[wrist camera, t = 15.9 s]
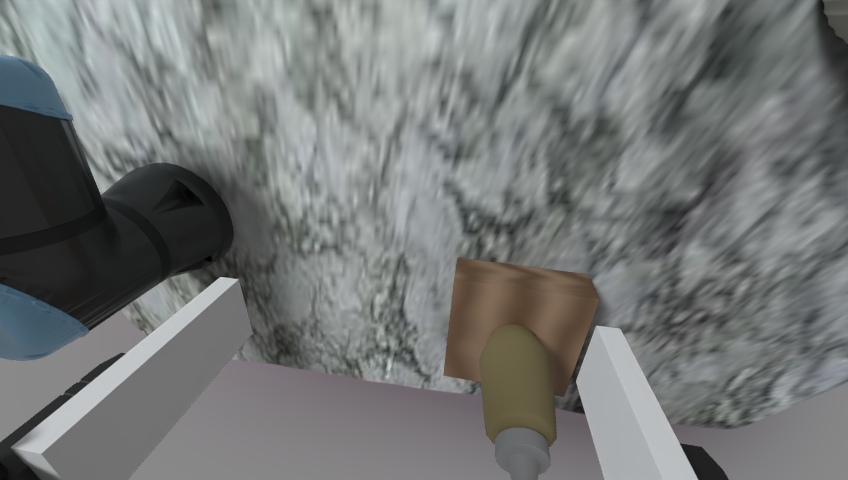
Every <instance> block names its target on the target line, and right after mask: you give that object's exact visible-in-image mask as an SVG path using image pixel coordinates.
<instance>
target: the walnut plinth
mask: <svg viewBox="0 0 848 480" xmlns="http://www.w3.org/2000/svg"><path fill="white" fill-rule="evenodd" d="M599 301H600V299H599V297H598V294H597V292H596V290H595V288H594V286H593V284H592V282H591V279H590V277H589V275H587V274H579V273H572V272H564V271H556V270H549V269H541V268H534V267H526V266H518V265H511V264H503V263H495V262H488V261H480V260H473V259H465V258H458V259H457V265H456V271H455V277H454V285H453V294H452V303H451V312H450V321H449V330H448V339H447V348H446V357H445V366H444V376H450V377H455V378H461V379H467V380H472V381H478V382H481V377H480V366H479V358H480V356H481V353H482V351H483V349H484V347H485V345H486V343H487V341H488V339H489V337H490V335H491V333H492V332H493V331H494V330H496V329H497V328H498V327H501V326H504V325H520V326H523V327H526V328H528V329H529V330H531V331H532V332H533V333H534V334H535V336H536V337H537V339H538V340H539V341H540V343H541V344H542V346H543V347H544V349H545V350H546V352H547V353H548V355H549V357H550V358H551V362H552V376H553V389H554V395H557V396H563V397H564V395H565V393H566V390H567V387H568V384H569V382H570V379H571V376H572V374H573V371H574V368H575V366H576V363H577V360H578V357H579V355H580V352H581V349H582V347H583V344H584V341H585V339H586V336H587V333H588V331H589V328H590V325H591V322H592V320H593V317H594V314H595V312H596V309H597V306H598V304H599Z"/></svg>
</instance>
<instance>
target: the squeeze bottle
mask: <svg viewBox="0 0 848 480" xmlns="http://www.w3.org/2000/svg"><path fill="white" fill-rule="evenodd" d="M479 366H480V377H481V388H482V397H483V409H484V420H485V429H486V435H487V436H488V437H489V439H490V440H491V441H492V442H493V443H494V444H495V457H496V462H497V463H498V464H499V466H500V467H501V468H502V469H504V470H505V471H507V472H509V473H510V476H511V480H538V475H540V474H542V473H544V472H545V471H547V469H548V468H549V467H550V453H549V447H550V446H551V445H552V444H553V442H554V441H555V440H556V438H557V437H556V417H555V403H554V389H553V376H552V362H551V358H550V357H549V355H548V353H547V352H546V350H545V349H544V347H543V346H542V344H541V343H540V341H539V340H538V339H537V337H536V336H535V334H534V333H533V332H532V331H531V330H529V329H528V328H526V327H523V326H520V325H504V326H501V327H498V328H497V329H496V330H494V331H493V332H492V333H491V335H490V337H489V339H488V341H487V343H486V345H485V347H484V349H483V351H482V353H481V356H480V358H479Z"/></svg>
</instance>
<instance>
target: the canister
mask: <svg viewBox="0 0 848 480" xmlns="http://www.w3.org/2000/svg"><path fill="white" fill-rule="evenodd" d="M822 1H823V3H824V14H825V15H826V16H827V18H828V25H829V26H831V27H832V28H833V29H834V31H835V34H836V35H837V36H838V37H840V38H843V39H844V41H845V42H846V43H847V44H848V0H822Z"/></svg>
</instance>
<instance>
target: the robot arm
mask: <svg viewBox="0 0 848 480" xmlns="http://www.w3.org/2000/svg"><path fill="white" fill-rule="evenodd" d="M72 120H73V117H72V115H71V114H69V113H68V112H67V110H66V108H65V106H64V104H63V102H62V100H61V98H60V96H59V93H58V91H57V89H56V87H55V84H54V82H53V80H52V79H51V77H50V76H49V75H48V74H47V73H46V72H45V71H44V70H43V69H42V68H41V67H39V66H37V65H36V64H34V63H32V62H30V61H28V60H25V59H22V58H18V57H13V56H8V55H1V54H0V357H1V358H5V359H10V360H19V361H27V360H35V359H40V358H43V357H45V356H48V355H50V354H52V353H54V352H55V351H57V350H58V349H60V348H62V347H64V346H65V345H67V344H69V343H71V342H72V341H74V340H75V339H77V338H79V337H83V336H85V335H86V334H87V333H88V332H89V331H90V330H92V329H93V328H95V327H96V326H97V325H99V324H100V323H102V322H103V321H105V320H106V319H108V318H109V317H111V316H112V315H113V314H115V313H116V312H118V311H119V310H121V309H122V308H124V307H125V306H127V305H128V304H130V303H131V302H133V301H134V300H136V299H137V298H138V297H140V296H141V295H143V294H144V293H146V292H147V291H149V290H150V289H152V288H153V287H155V286H156V285H158V284H159V283H161V282H162V281H164V280H165V279H167V278H170V277H173V276H177V275H180V274H184V273H187V272H191V271H194V270H198V269H201V268H204V267H207V266H209V265H211V264H212V263H214V262H215V261H217V260H218V259H219V258H221V257H222V256H223V255H225V254H226V252H227V251H228V250H229V248H230V246H231V243H232V237H233V229H232V223H231V219H230V216H229V214H228V211H227V209H226V207H225V205H224V204H223V202H222V200H221V199H220V198H219V196H218V195H217V194H216V192H215V191H214V190H213V189H212V188H211V187H210V186H209V185H208V184H207V183H206V182H205V181H204V180H202V179H201V178H200V177H198V176H197V175H195V174H194V173H192V172H191V171H189V170H187V169H185V168H182V167H180V166H177V165H173V164H169V163H154V164H150V165H147V166H143V167H140V168H137V169H135V170H133V171H131V172H129V173H128V174H126V175H125V176H124V177H123V178H121V179H120V180H119V181H118V182H116V183H115V184H114V185H113V186H111V187H110V188H109V189H108V190H107V191H105V192H104V193H103V194H102V195H100V192H99V190H98V187H97V185H96V182H95V180H94V177H93V175H92V172H91V170H90V167H89V165H88V162H87V160H86V157H85V155H84V152H83V149H82V147H81V144H80V142H79V139H78V136H77V134H76V131H75V128H74V126H73V123H72ZM252 334H253V332H252V328H251V324H250V320H249V316H248V313H247V309H246V305H245V301H244V297H243V293H242V290H241V286H240V282H239V279H233V278H225V277H220V278H219V279H217V280H216V281H215V282H214V283H212V284H211V285H210V286H209V287H207V288H206V289H205V290H204V291H203V292H201V293H200V294H199V295H198V296H196V297H195V298H194V299H193V300H191V301H190V302H189V303H188V304H187V305H185V306H184V307H183V308H182V309H180V310H179V311H178V312H177V313H175V314H174V315H173V316H172V317H171V318H169V319H168V320H167V321H166V322H164V323H163V324H162V325H161V326H159V327H158V328H157V329H156V330H155V331H153V332H152V333H151V334H150V335H148V336H147V337H146V338H145V339H144V340H142V341H141V342H140V343H139V344H137V345H136V346H135V347H134V348H133V349H131V350H130V351H129V352H127V353H126V354H125V353H120V354H118V355H117V356H115V357H113V358H111V359H109V360H108V361H105V362H103V363H102V364H100V365H99V366H97V367H96V368H95V369H93V370H92V371H91V372H90V373H88V374H87V375H86V376H84V377H83V378H82V379H81V381H80V382H79V383H76V384H74V385H73V386H72V387H70V388H69V389H68V390H66V391H65V393H64V395H60V396H59V397H58V398H56V399H55V400H54V401H52V402H51V403H50V404H49V405H47V406H46V407H45V408H44V409H42V410H41V411H40V412H38V413H37V414H36V415H35V416H33V417H32V418H31V419H30V420H28V421H27V422H26V423H24V424H23V425H22V426H21V427H19V428H18V429H17V430H16V431H14V432H13V433H12V434H10V435H9V436H8V437H7V438H5V439H4V440H3V441H2V442H0V480H128V479H129V478H130V477H131V476H132V475H133V473H134V472H135V471H136V470H137V469H138V467H139V466H140V465H141V464H142V463H143V462H144V460H145V459H146V458H147V457H148V456H149V455H150V453H151V452H152V451H153V450H154V449H155V447H156V446H157V445H158V444H159V443H160V442H161V440H162V439H163V438H164V437H165V436H166V435H167V433H168V432H169V431H170V430H171V428H173V426H174V425H175V424H176V423H177V422H178V420H179V419H180V418H181V417H182V416H183V415H184V414H185V412H186V411H187V410H188V409H189V408H190V407H191V405H192V404H193V403H194V402H195V401H196V399H197V398H198V397H199V396H200V395H201V394H202V392H203V391H204V390H205V389H206V388H207V386H208V385H209V384H210V383H211V382H212V381H213V379H214V378H215V377H216V376H217V375H218V374H219V372H220V371H221V370H222V369H223V368H224V367H225V365H226V364H227V363H228V362H229V361H230V360H231V358H232V357H233V356H234V355H235V354H236V353H237V351H238V350H239V349H240V348H241V347H242V346H243V344H244V343H245V342H246V341H247V340H248V339H249V337H250V336H251V335H252ZM576 383H577V387H578V390H579V394H580V397H581V401H582V404H583V407H584V411H585V414H586V418H587V421H588V424H589V428H590V431H591V435H592V438H593V442H594V445H595V448H596V452H597V455H598V458H599V462H600V465H601V469H602V472H603V476H604V479H605V480H728V478H727V476H726V474H725V473H724V471H723V469H722V468H721V467H720V466H719V465H718V464H717V463H716V462H715V461H714V460H713V459H712V458H711V457H710V456H709V455H708V453H707V452H706V451H705V450H704V449H703V448H702V447H698V446H692V445H686V444H680V443H679V442H678V440H677V438H676V436H675V434H674V432H673V430H672V428H671V426H670V424H669V422H668V420H667V418H666V416H665V415H664V413H663V411H662V409H661V407H660V405H659V403H658V401H657V399H656V397H655V395H654V393H653V391H652V389H651V388H650V386H649V384H648V382H647V380H646V378H645V376H644V374H643V372H642V370H641V368H640V366H639V364H638V362H637V360H636V359H635V357H634V355H633V353H632V351H631V349H630V347H629V345H628V343H627V341H626V339H625V337H624V335H623V333H622V331H621V330H620V329H619V328H611V327H603V326H596V328H595V330H594V333H593V336H592V339H591V341H590V344H589V347H588V350H587V352H586V355H585V358H584V361H583V363H582V366H581V369H580V372H579V374H578V377H577V380H576Z"/></svg>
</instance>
